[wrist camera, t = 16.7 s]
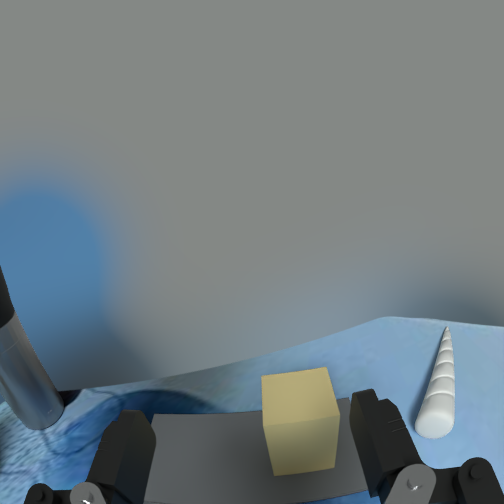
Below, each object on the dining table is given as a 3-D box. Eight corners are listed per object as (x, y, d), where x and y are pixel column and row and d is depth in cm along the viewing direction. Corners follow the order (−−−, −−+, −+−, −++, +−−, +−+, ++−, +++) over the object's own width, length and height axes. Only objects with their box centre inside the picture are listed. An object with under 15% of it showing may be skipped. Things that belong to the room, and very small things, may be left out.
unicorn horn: (465, 332, 41) (471, 308, 39) (444, 444, 24) (457, 421, 22) (441, 328, 44) (446, 304, 42) (409, 437, 27) (418, 413, 25)
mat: (131, 499, 23) (130, 497, 23) (155, 415, 36) (154, 413, 36) (375, 488, 21) (376, 486, 21) (348, 399, 35) (348, 397, 35)
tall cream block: (274, 476, 25) (263, 425, 22) (271, 432, 31) (261, 375, 28) (334, 467, 25) (340, 414, 22) (325, 425, 31) (326, 366, 28)
